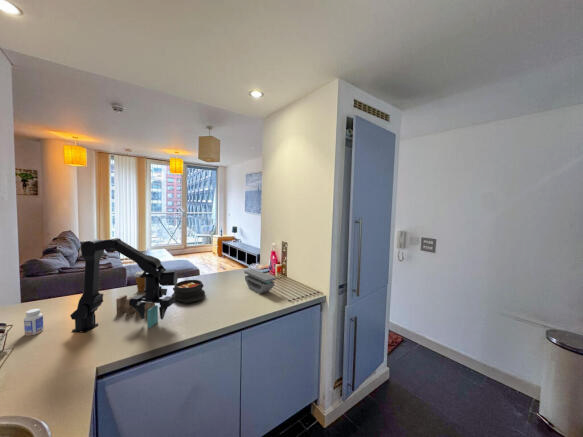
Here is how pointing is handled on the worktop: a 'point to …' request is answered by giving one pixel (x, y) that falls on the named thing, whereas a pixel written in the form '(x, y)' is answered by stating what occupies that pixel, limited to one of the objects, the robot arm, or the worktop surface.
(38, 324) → the pill bottle
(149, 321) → the teal domino
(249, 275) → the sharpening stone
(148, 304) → the domino
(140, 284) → the disposable coffee cup
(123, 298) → the domino
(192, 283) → the casserole
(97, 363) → the worktop surface
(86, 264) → the robot arm
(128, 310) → the domino
